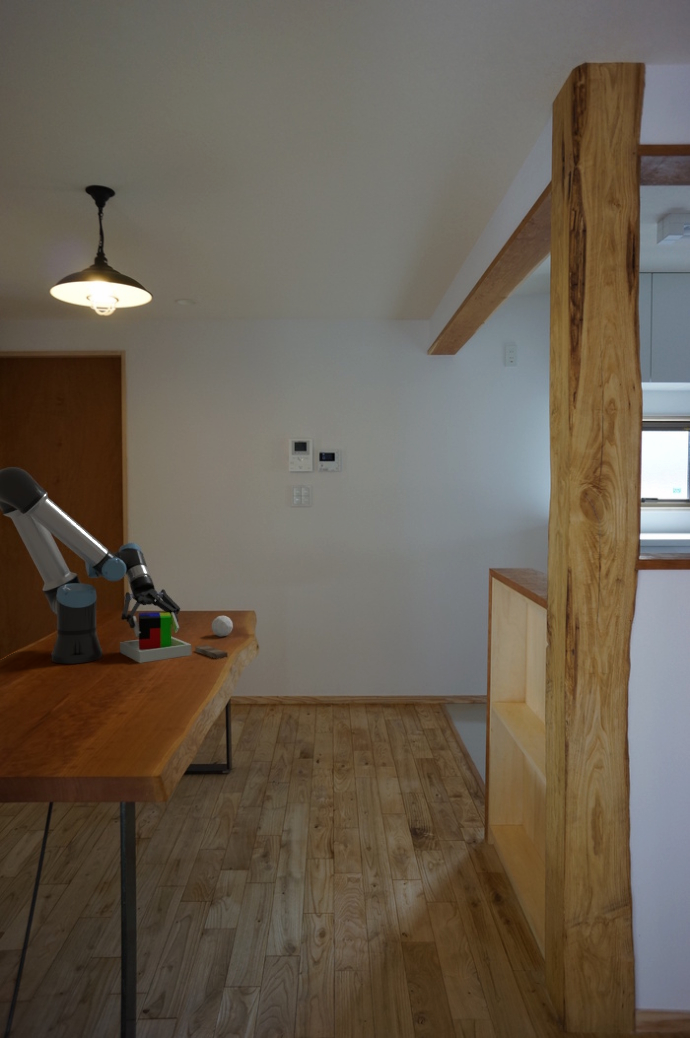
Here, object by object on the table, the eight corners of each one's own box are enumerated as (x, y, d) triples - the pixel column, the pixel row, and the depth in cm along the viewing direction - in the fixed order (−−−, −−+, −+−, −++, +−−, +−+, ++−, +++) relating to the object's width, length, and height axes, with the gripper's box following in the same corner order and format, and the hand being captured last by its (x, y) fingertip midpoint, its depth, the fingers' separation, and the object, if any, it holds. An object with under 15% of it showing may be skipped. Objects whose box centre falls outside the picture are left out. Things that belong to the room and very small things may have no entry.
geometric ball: (222, 644, 249) (215, 629, 244) (211, 633, 254) (205, 619, 249) (239, 632, 252) (232, 618, 247) (228, 622, 257) (222, 607, 252)
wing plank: (227, 658, 218) (227, 652, 218) (216, 660, 215) (216, 654, 215) (205, 650, 229) (205, 645, 228) (195, 652, 226) (195, 646, 226)
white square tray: (139, 662, 210) (139, 651, 209) (120, 652, 223) (120, 642, 223) (191, 655, 220) (191, 644, 220) (169, 645, 234) (169, 635, 234)
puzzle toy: (138, 643, 225) (138, 613, 224) (169, 641, 228) (169, 612, 227) (139, 649, 215) (139, 618, 215) (171, 647, 218) (171, 617, 218)
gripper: (171, 585, 241) (189, 634, 229) (102, 591, 225) (117, 643, 214) (177, 572, 236) (196, 621, 225) (107, 577, 221) (123, 630, 210)
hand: (158, 632), depth 220 cm, fingers closed on puzzle toy, 12 cm apart
